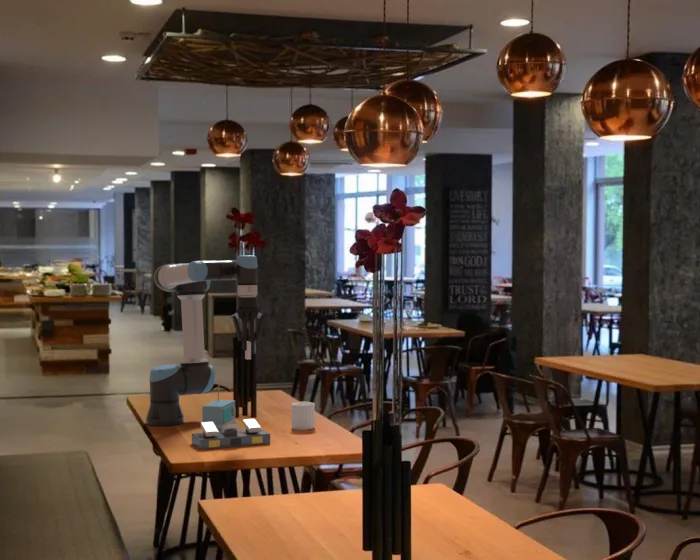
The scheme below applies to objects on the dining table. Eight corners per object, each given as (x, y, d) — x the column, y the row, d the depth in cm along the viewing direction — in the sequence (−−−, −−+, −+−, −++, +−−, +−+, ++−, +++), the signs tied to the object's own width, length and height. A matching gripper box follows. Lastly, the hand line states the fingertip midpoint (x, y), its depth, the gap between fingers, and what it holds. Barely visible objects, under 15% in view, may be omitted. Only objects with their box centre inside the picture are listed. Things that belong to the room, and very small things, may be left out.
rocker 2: (222, 431, 369) (221, 426, 370) (233, 430, 371) (233, 425, 371) (228, 428, 362) (227, 423, 363) (240, 427, 364) (239, 422, 364)
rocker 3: (242, 423, 373) (243, 419, 372) (254, 422, 375) (254, 418, 374) (249, 432, 366) (249, 428, 365) (260, 431, 368) (261, 427, 367)
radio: (225, 438, 377) (224, 385, 377) (202, 437, 379) (201, 384, 378) (238, 430, 393) (237, 379, 392) (216, 429, 395) (215, 379, 394)
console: (191, 443, 367) (191, 430, 367) (259, 437, 378) (259, 424, 378) (200, 449, 356) (200, 436, 356) (270, 443, 367) (270, 430, 366)
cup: (296, 431, 391) (296, 406, 391) (287, 426, 400) (287, 402, 400) (318, 429, 395) (318, 404, 395) (309, 425, 404) (309, 400, 404)
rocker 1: (200, 426, 366) (200, 422, 366) (212, 425, 368) (212, 421, 368) (206, 436, 359) (206, 432, 359) (218, 435, 361) (218, 431, 361)
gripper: (233, 297, 372) (234, 361, 373) (267, 296, 377) (267, 359, 378) (227, 296, 379) (228, 358, 380) (260, 295, 384) (261, 357, 385)
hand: (248, 358), depth 379 cm, fingers closed
